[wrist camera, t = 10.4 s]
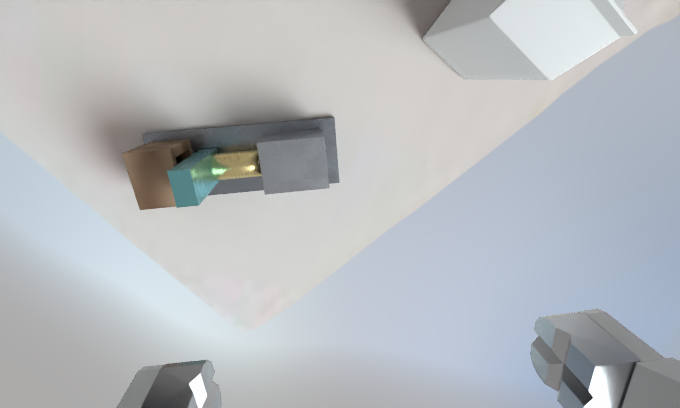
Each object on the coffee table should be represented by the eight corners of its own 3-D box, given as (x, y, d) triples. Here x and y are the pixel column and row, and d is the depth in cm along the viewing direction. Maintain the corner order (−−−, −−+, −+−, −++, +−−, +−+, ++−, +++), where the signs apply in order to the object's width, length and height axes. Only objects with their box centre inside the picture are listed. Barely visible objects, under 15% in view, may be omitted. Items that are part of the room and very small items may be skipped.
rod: (290, 141, 39) (284, 160, 30) (293, 170, 40) (289, 196, 31) (177, 151, 38) (138, 173, 29) (184, 180, 39) (149, 210, 31)
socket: (190, 138, 39) (168, 149, 33) (202, 186, 41) (183, 205, 35) (151, 141, 38) (122, 153, 32) (165, 190, 41) (139, 210, 35)
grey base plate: (333, 117, 39) (338, 123, 34) (338, 181, 42) (343, 196, 37) (144, 133, 38) (116, 142, 32) (163, 198, 41) (140, 217, 35)
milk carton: (464, 80, 39) (592, 81, 22) (420, 39, 37) (523, 4, 19) (507, 27, 38) (684, -19, 20) (464, -19, 36) (619, -115, 18)
